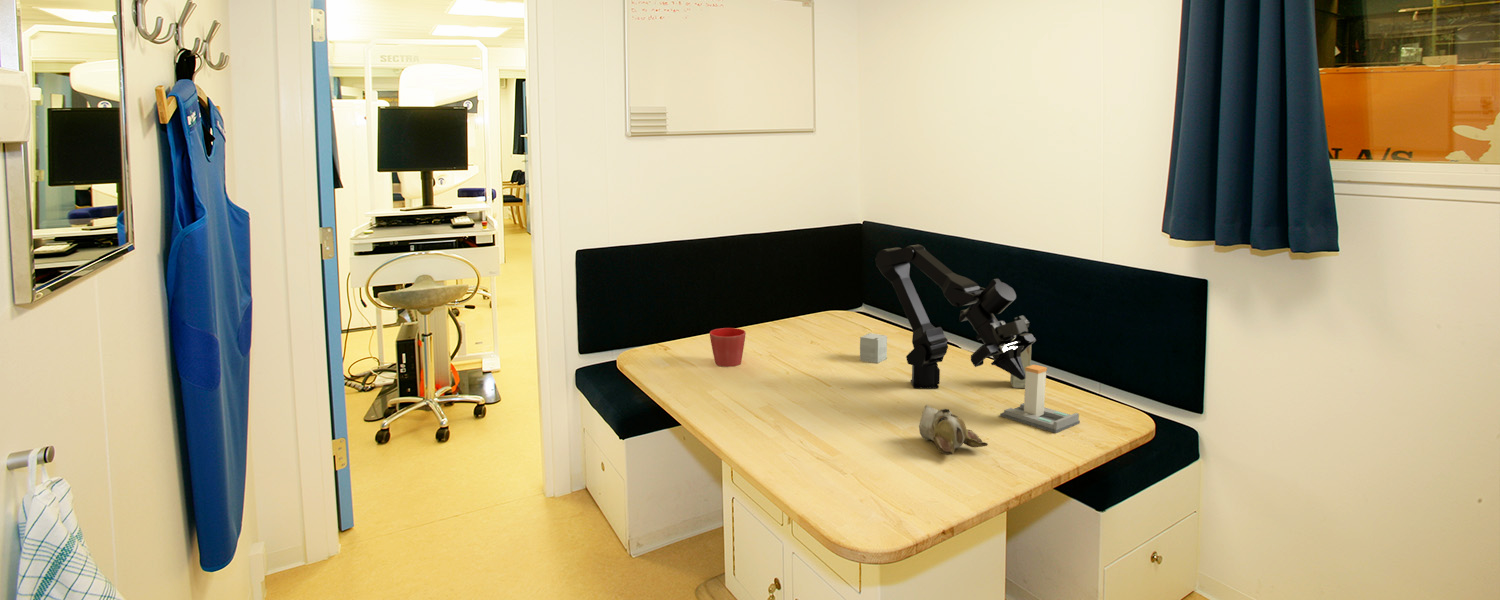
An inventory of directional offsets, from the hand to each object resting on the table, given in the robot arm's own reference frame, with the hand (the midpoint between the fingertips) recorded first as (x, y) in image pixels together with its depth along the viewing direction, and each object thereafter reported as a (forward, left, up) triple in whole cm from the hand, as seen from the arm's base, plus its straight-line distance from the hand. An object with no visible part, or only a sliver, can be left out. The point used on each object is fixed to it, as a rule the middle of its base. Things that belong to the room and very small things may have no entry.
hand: (1024, 378), depth 189 cm
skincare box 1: (-30, +48, -9) cm, 57 cm away
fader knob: (+2, -2, -9) cm, 9 cm away
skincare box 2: (+6, +23, -9) cm, 25 cm away
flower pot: (-73, +45, -9) cm, 86 cm away
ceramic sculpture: (-21, -20, -9) cm, 30 cm away
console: (+3, -3, -9) cm, 10 cm away
